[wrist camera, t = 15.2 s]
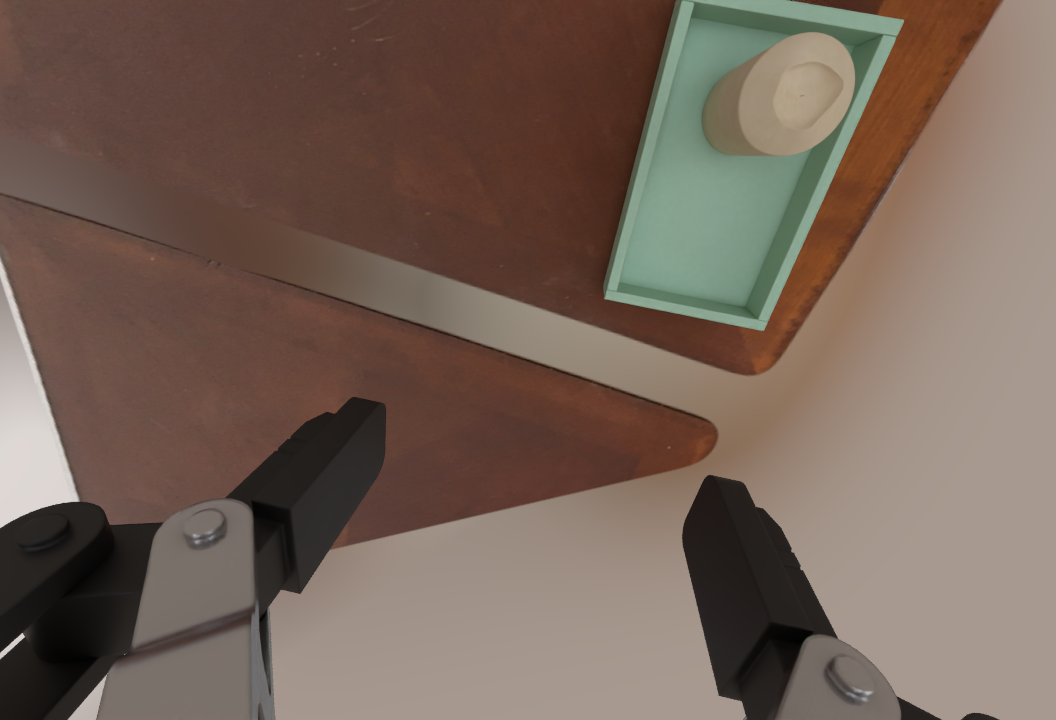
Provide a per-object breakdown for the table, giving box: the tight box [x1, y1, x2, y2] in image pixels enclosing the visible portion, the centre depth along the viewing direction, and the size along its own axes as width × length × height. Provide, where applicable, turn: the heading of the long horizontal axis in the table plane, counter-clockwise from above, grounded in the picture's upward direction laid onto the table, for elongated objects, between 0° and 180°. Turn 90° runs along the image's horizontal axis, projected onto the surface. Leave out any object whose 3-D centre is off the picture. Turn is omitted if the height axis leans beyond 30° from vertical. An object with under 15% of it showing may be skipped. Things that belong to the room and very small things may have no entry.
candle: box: [702, 32, 855, 156], centre depth 25 cm, size 6×6×10 cm
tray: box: [603, 0, 904, 331], centre depth 31 cm, size 20×13×4 cm, turn 170°
